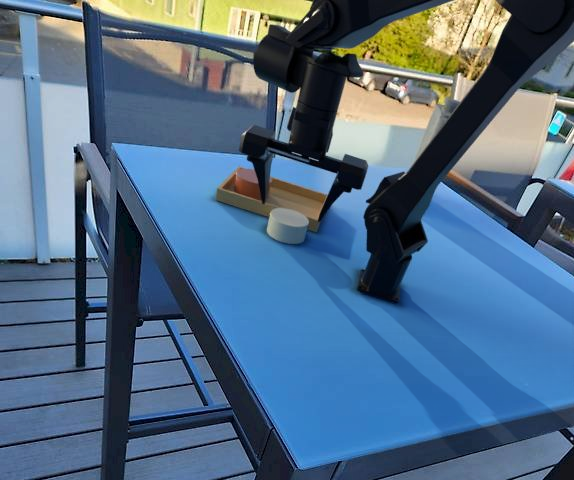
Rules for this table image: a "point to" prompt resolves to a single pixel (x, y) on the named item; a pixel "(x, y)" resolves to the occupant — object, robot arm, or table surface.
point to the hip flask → (436, 122)
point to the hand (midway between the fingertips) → (291, 212)
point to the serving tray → (276, 199)
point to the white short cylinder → (287, 226)
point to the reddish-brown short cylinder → (248, 184)
